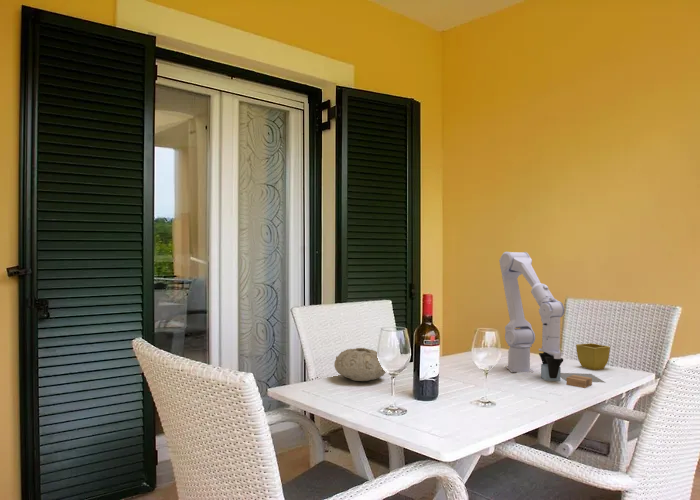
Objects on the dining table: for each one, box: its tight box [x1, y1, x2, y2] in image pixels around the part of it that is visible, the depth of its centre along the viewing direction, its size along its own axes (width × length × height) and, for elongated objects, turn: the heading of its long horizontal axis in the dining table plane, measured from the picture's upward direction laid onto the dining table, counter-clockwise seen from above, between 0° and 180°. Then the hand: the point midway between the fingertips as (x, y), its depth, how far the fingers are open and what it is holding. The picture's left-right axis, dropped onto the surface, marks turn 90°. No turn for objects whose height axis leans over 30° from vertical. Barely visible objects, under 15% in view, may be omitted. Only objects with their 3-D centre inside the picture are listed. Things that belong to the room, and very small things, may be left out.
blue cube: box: [540, 363, 562, 382], centre depth 183 cm, size 5×5×5 cm
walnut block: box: [566, 375, 593, 389], centre depth 175 cm, size 6×6×3 cm
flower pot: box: [575, 342, 611, 371], centre depth 202 cm, size 9×9×9 cm
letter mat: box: [560, 372, 607, 384], centre depth 186 cm, size 13×13×1 cm
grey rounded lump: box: [333, 347, 387, 382], centre depth 179 cm, size 18×18×10 cm
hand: (550, 376), depth 183 cm, fingers closed on blue cube, 5 cm apart
